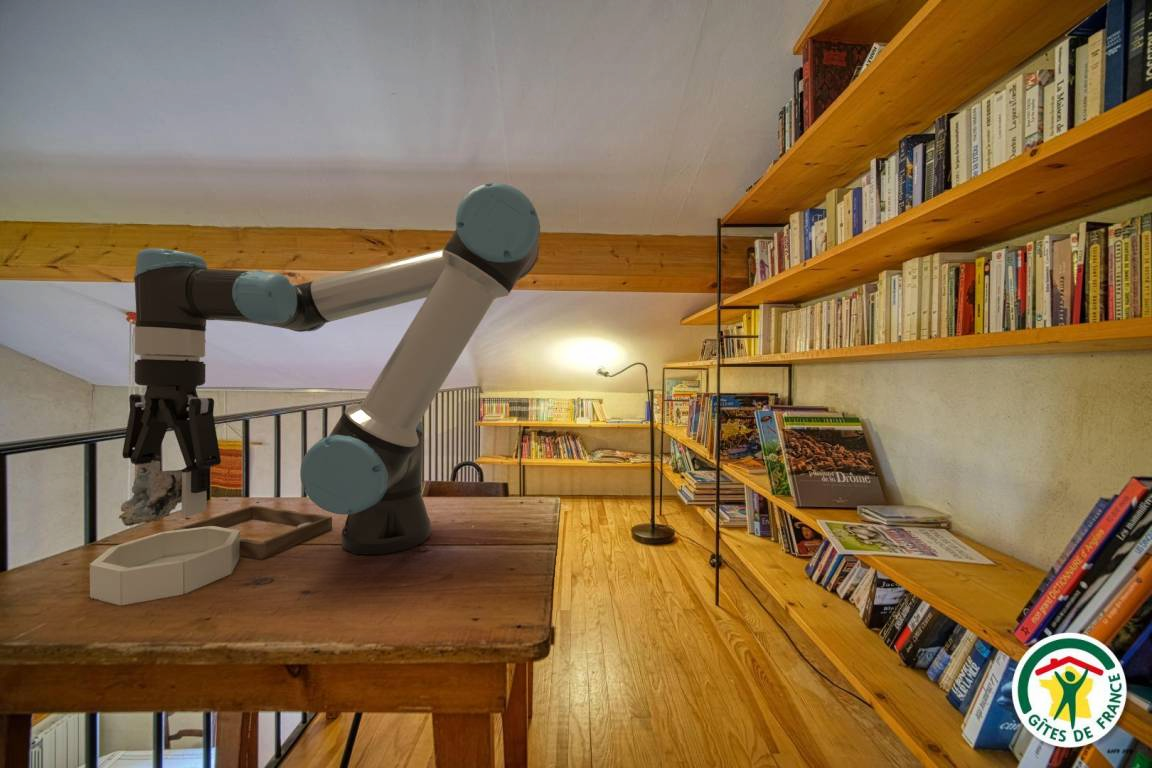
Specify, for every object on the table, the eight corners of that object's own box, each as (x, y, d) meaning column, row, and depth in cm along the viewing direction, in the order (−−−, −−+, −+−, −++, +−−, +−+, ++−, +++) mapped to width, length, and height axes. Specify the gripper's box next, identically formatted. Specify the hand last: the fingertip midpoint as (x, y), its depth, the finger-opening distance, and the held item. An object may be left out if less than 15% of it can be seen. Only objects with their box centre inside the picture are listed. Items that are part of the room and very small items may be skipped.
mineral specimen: (139, 548, 61) (212, 526, 63) (84, 529, 55) (167, 505, 56) (158, 488, 67) (225, 470, 69) (111, 465, 61) (186, 445, 62)
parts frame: (331, 529, 82) (332, 516, 82) (261, 559, 69) (261, 544, 69) (253, 517, 88) (253, 505, 88) (173, 543, 74) (173, 529, 74)
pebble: (319, 531, 82) (319, 523, 82) (306, 537, 79) (306, 528, 79) (306, 529, 82) (306, 521, 82) (293, 535, 79) (293, 527, 79)
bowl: (260, 561, 68) (260, 533, 68) (144, 611, 54) (143, 576, 54) (193, 548, 72) (193, 522, 72) (68, 592, 58) (68, 559, 58)
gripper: (253, 361, 63) (251, 511, 63) (151, 357, 69) (150, 494, 69) (196, 359, 56) (194, 528, 56) (87, 355, 61) (87, 508, 62)
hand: (170, 509), depth 63 cm, fingers closed on mineral specimen, 9 cm apart
